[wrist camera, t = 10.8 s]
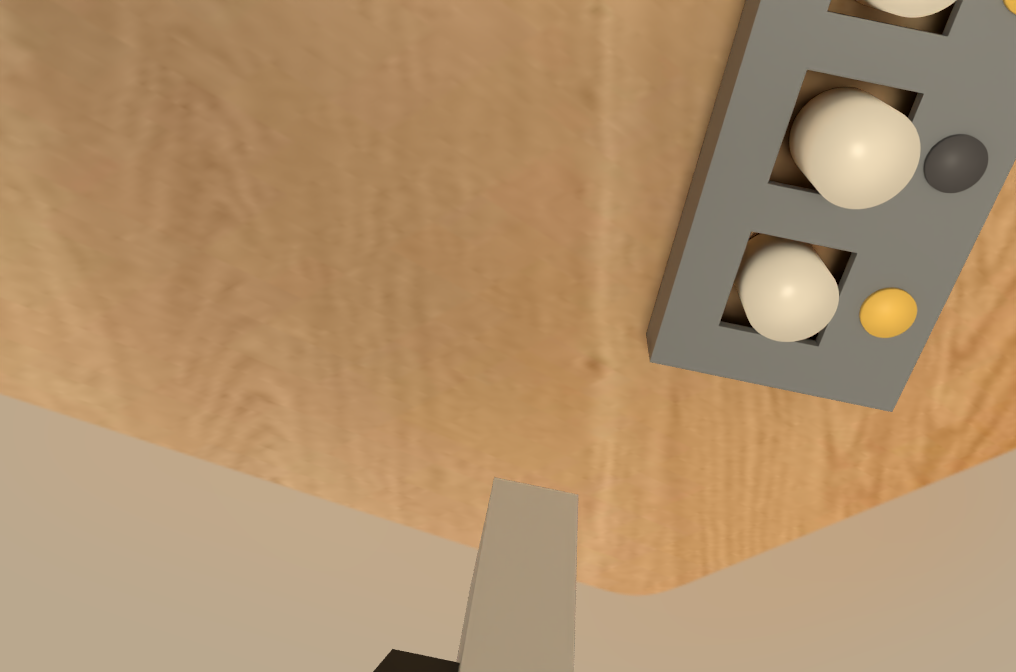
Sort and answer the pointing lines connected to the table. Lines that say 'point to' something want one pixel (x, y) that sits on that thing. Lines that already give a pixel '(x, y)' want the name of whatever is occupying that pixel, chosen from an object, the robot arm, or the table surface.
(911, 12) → the button
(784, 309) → the button
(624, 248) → the table surface
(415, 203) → the table surface
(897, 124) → the button
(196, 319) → the table surface
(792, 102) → the console
